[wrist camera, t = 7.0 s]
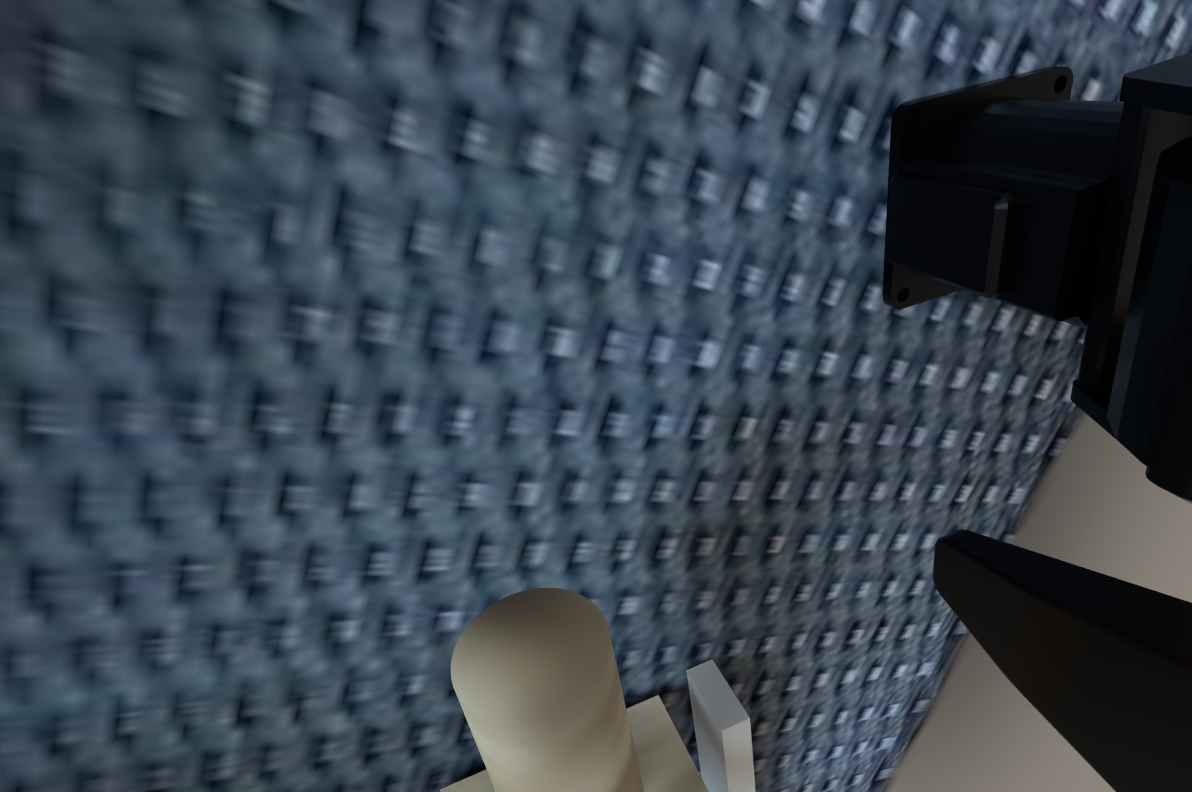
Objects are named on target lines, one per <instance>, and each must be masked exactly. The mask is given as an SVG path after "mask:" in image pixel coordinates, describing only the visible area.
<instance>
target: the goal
mask: <svg viewBox="0 0 1192 792" xmlns="http://www.w3.org/2000/svg"><path fill="white" fill-rule="evenodd" d="M686 672H687V679H688V686H689V693H690V700H691V707H692V714H693V721H694V728H695V735H696V742H697V749H698V756H699V763H700V770H701V777H702V780H703V782H704V783H705V785H706V787H707V789H708V791H709V792H756V791H755V778H754V765H753V752H752V739H751V726H750V717H749V716H748V714H747V713H746V711H745V710H744V708H743V707H742V705H741V703H740V702H739V700H738V699H737V697H736V696H735V694H734V693H733V691H732V689H731V688H730V686H729V685H728V683H727V682H726V680H725V678H724V677H723V675H722V674H721V672H720V671H719V669H718V668H717V666H716V664H715V663H714V661H713V660H712V659H711V660H709V661H707V662H704V663H702V664H700V665H697V666H695V667H693V668H690V669H688V670H686Z"/></svg>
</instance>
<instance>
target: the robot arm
mask: <svg viewBox="0 0 1192 792" xmlns="http://www.w3.org/2000/svg"><path fill="white" fill-rule="evenodd" d="M1072 83H1073V73H1072V71H1071V69H1070V68H1069V67H1048V68H1044V69H1040V70H1035V71H1031V72H1027V73H1023V74H1019V75H1015V76H1011V77H1007V78H1002V79H998V80H994V81H990V82H986V83H982V84H978V85H974V86H969V87H965V88H961V89H957V90H953V91H949V92H945V93H941V94H936V95H932V96H928V97H924V98H920V99H916V100H912V101H908V102H905V103H903V104H901V105H900V106H899V107H898V108H897V109H896V111H895V113H894V115H893V117H892V122H891V139H890V158H889V178H888V198H887V218H886V237H885V257H884V277H883V301H884V302H885V304H887V305H889V306H892V307H894V308H896V309H903V308H906V307H909V306H912V305H915V304H918V303H921V302H924V301H928V300H931V299H934V298H937V297H940V296H943V295H946V294H949V293H952V292H955V291H958V290H962V289H963V290H966V291H969V292H971V293H974V294H977V295H980V296H983V297H985V298H993V299H996V300H999V301H1002V302H1005V303H1007V304H1010V305H1013V306H1016V307H1019V308H1022V309H1024V310H1027V311H1030V312H1033V313H1036V314H1038V315H1041V316H1044V317H1047V318H1050V319H1053V320H1055V321H1064V322H1067V323H1070V324H1073V325H1076V326H1079V327H1081V328H1084V329H1086V332H1085V338H1084V344H1083V350H1082V356H1081V362H1080V368H1079V374H1078V379H1077V380H1075V381H1073V387H1072V393H1071V400H1072V402H1074V403H1075V404H1076V405H1077V406H1078V407H1079V408H1081V409H1082V410H1083V411H1084V412H1085V413H1086V414H1087V415H1089V416H1090V417H1091V418H1092V419H1093V420H1094V421H1096V422H1097V423H1098V424H1099V425H1100V426H1101V427H1103V428H1104V429H1105V430H1106V431H1107V432H1108V433H1110V434H1111V435H1112V436H1113V437H1114V438H1115V439H1117V440H1118V441H1119V442H1120V443H1121V444H1122V445H1123V446H1124V447H1125V448H1127V450H1129V451H1130V452H1131V453H1132V454H1133V455H1134V456H1135V457H1136V458H1137V459H1138V460H1139V461H1141V462H1142V463H1143V464H1145V465H1146V466H1147V469H1146V473H1145V474H1146V477H1147V478H1148V479H1149V480H1150V481H1151V482H1153V483H1154V484H1155V485H1157V486H1158V487H1160V488H1162V489H1164V490H1166V491H1168V492H1170V493H1172V494H1174V495H1176V496H1178V497H1180V498H1182V499H1184V500H1186V501H1187V502H1190V503H1192V52H1190V53H1187V54H1184V55H1181V56H1178V57H1175V58H1172V59H1169V60H1166V61H1163V62H1160V63H1157V64H1154V65H1151V66H1148V67H1145V68H1142V69H1139V70H1136V71H1133V72H1130V73H1127V74H1125V75H1123V81H1122V87H1121V93H1120V99H1119V101H1121V102H1102V101H1082V100H1070V94H1071V88H1072ZM1123 102H1124V103H1123ZM911 114H912V121H911V124H910V125H909V126H908V119H909V117H910V115H911ZM900 290H901V292H900V294H899V295H898V292H899V291H900ZM897 295H898V297H897ZM933 580H934V584H935V586H936V589H937V590H938V592H939V594H940V595H941V596H942V598H943V599H944V600H945V601H946V603H947V604H948V605H949V606H950V608H951V609H952V610H953V611H954V613H955V614H956V615H957V616H958V618H959V619H960V620H961V621H962V623H963V624H964V625H965V626H966V628H967V629H968V630H969V631H970V633H971V634H972V635H973V636H974V638H975V639H976V640H977V641H978V643H979V644H980V645H981V646H982V648H983V649H984V650H985V651H986V653H987V654H988V655H989V656H990V657H991V659H992V660H993V661H994V663H995V664H996V665H997V666H998V667H999V669H1000V670H1001V671H1002V672H1003V673H1004V675H1005V676H1006V677H1007V678H1008V679H1009V681H1010V682H1011V683H1012V684H1013V685H1014V686H1015V687H1016V688H1017V689H1018V690H1019V691H1020V693H1021V694H1023V696H1024V697H1025V698H1026V699H1027V700H1028V701H1029V702H1030V703H1031V704H1032V705H1033V706H1034V707H1035V708H1036V709H1037V710H1038V711H1039V712H1040V713H1041V714H1042V715H1043V716H1044V718H1045V719H1046V720H1048V722H1049V723H1050V724H1051V725H1052V726H1053V727H1054V728H1055V729H1056V730H1057V731H1058V732H1059V733H1060V734H1061V735H1062V736H1063V737H1064V738H1065V739H1066V740H1067V741H1068V742H1069V744H1070V745H1071V746H1072V747H1073V748H1074V749H1075V750H1076V751H1077V752H1078V753H1079V754H1080V755H1081V756H1082V757H1083V758H1084V759H1085V760H1086V761H1087V762H1088V763H1089V764H1090V765H1091V766H1092V767H1093V768H1094V770H1096V772H1097V773H1098V774H1099V775H1100V776H1101V777H1102V778H1103V779H1104V780H1105V781H1106V782H1107V783H1108V784H1109V785H1110V786H1111V787H1112V788H1113V789H1114V790H1115V791H1116V792H1192V603H1190V602H1187V601H1184V600H1181V599H1178V598H1175V597H1172V596H1169V595H1166V594H1163V593H1160V592H1157V591H1153V590H1150V589H1147V588H1144V587H1141V586H1138V585H1135V584H1132V583H1129V582H1126V581H1123V580H1120V579H1117V578H1114V577H1110V576H1107V575H1104V574H1101V573H1098V572H1095V571H1092V570H1089V569H1086V568H1083V567H1079V566H1077V565H1073V564H1070V563H1067V562H1064V561H1061V560H1058V559H1055V558H1052V557H1049V556H1046V555H1043V554H1040V553H1036V552H1033V551H1030V550H1027V549H1024V548H1021V547H1018V546H1015V545H1012V544H1009V543H1006V542H1003V541H1000V540H997V539H993V538H990V537H987V536H984V535H981V534H978V533H975V532H972V531H968V530H957V531H954V532H952V533H950V534H947V535H945V536H943V537H941V538H939V539H938V540H937V541H936V543H935V552H934V567H933Z"/></svg>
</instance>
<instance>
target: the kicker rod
mask: <svg viewBox="0 0 1192 792" xmlns="http://www.w3.org/2000/svg"><path fill="white" fill-rule="evenodd" d="M451 679H452V683H453V687H454V690H455V692H456V694H457V697H458V699H459V702H460V704H461V707H462V709H463V712H464V714H465V717H466V719H467V722H468V724H469V727H470V729H471V732H472V734H473V737H474V739H475V742H476V744H477V747H478V749H479V752H480V754H481V756H482V759H483V761H484V764H485V766H486V770H484V771H482V772H479V773H477V774H475V775H472V776H470V777H468V778H465V779H463V780H461V781H459V782H456V783H454V784H452V785H449V786H447V787H445V788H442V789H440V792H709V791H708V789H707V787H706V785H705V783H704V782H703V780H702V778H701V776H700V774H699V772H698V770H697V768H696V766H695V764H694V762H693V760H692V758H691V756H690V755H689V753H688V751H687V749H686V747H685V745H684V743H683V741H682V739H681V737H680V735H679V733H678V731H677V730H676V728H675V726H674V724H673V722H672V720H671V718H670V716H669V714H668V712H667V710H666V708H665V706H664V705H663V703H662V701H661V699H660V697H659V695H657V696H655V697H652V698H650V699H648V700H645V701H643V702H641V703H639V704H636V705H634V706H632V707H629V708H627V709H626V706H625V701H624V696H623V692H622V687H621V683H620V678H619V673H618V669H617V664H616V660H615V655H614V650H613V646H612V641H611V636H610V632H609V627H608V624H607V622H606V619H605V617H604V616H603V614H602V612H601V611H600V610H599V609H598V607H597V606H596V605H595V604H593V603H592V602H591V601H590V600H588V599H587V598H585V597H584V596H582V595H579V594H577V593H575V592H571V591H568V590H563V589H557V588H538V589H531V590H526V591H522V592H519V593H516V594H513V595H510V596H508V597H505V598H503V599H501V600H499V601H498V602H496V603H494V604H492V605H491V606H489V607H488V608H486V609H485V610H484V611H483V612H481V613H480V614H479V615H478V616H477V617H476V618H475V619H474V620H473V621H472V622H471V623H470V624H469V625H468V627H467V628H466V629H465V630H464V632H463V633H462V635H461V636H460V638H459V640H458V642H457V644H456V646H455V649H454V652H453V656H452V661H451Z"/></svg>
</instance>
